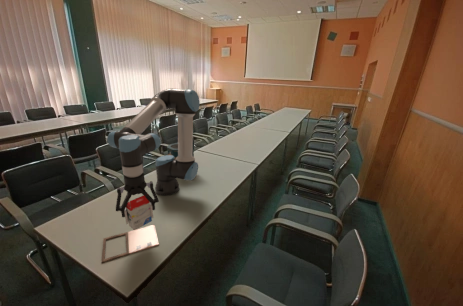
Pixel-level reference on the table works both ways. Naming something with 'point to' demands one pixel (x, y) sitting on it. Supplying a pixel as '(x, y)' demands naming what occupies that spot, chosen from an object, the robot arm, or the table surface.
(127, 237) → the frame
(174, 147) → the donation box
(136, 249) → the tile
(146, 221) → the ink box
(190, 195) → the table surface
